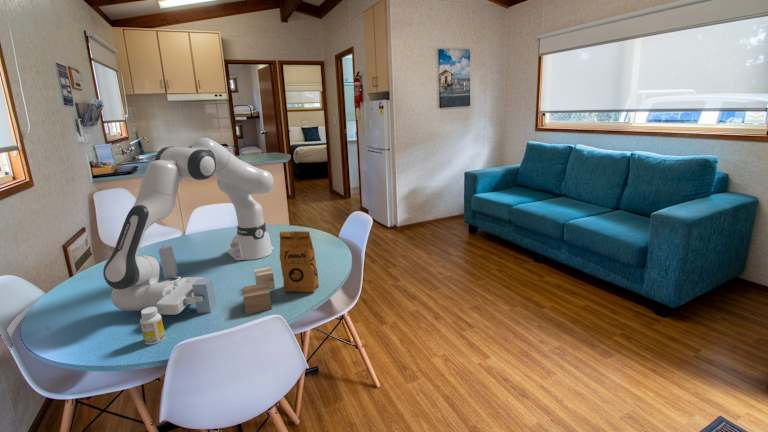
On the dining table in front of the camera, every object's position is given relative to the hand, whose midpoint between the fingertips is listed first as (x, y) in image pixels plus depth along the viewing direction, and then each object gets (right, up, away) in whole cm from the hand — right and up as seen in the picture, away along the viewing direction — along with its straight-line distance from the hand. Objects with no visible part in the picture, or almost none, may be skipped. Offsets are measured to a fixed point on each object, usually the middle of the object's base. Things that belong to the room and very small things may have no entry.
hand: (207, 294), depth 131 cm
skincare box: (-28, +1, +31) cm, 42 cm away
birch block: (+14, 0, +17) cm, 22 cm away
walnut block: (+16, -4, +2) cm, 17 cm away
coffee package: (+28, -1, +14) cm, 32 cm away
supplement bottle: (-8, -11, -15) cm, 20 cm away
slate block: (-1, -5, +1) cm, 6 cm away
